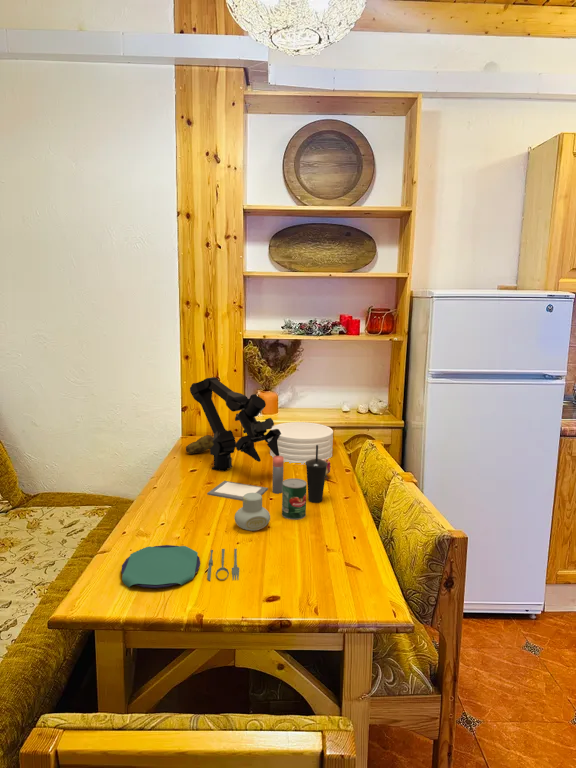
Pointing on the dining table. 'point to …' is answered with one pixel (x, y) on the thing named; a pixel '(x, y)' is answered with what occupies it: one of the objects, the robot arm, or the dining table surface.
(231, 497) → the writing mat
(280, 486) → the marker
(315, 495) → the drinking cup
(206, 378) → the robot arm
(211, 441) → the potato
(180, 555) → the cutlery set
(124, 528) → the dining table surface
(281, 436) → the plate stack
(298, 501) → the canned tomato
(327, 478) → the flower
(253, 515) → the air freshener
